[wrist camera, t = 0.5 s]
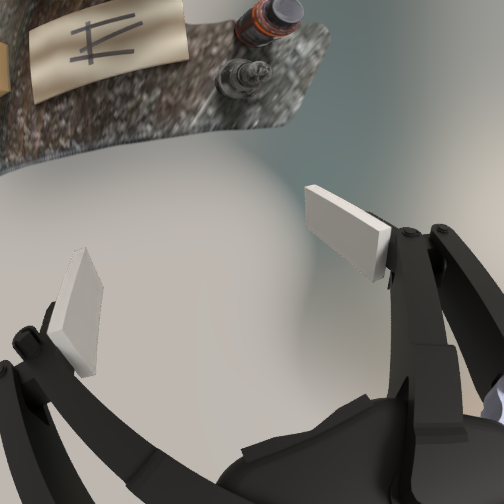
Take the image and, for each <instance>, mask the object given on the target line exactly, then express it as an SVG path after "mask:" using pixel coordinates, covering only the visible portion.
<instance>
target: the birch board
mask: <svg viewBox="0 0 504 504" xmlns="http://www.w3.org/2000/svg"><path fill="white" fill-rule="evenodd" d="M29 48H30V67H31V79H32V88H33V97H34V104H39V103H42V102H44V101H46V100H48V99H51V98H53V97H56V96H58V95H61V94H63V93H66V92H68V91H71V90H74V89H76V88H79V87H82V86H85V85H88V84H91V83H94V82H97V81H100V80H103V79H107V78H110V77H114V76H117V75H121V74H125V73H128V72H132V71H136V70H141V69H145V68H150V67H154V66H159V65H164V64H170V63H175V62H182V61H188V60H189V54H188V46H187V38H186V29H185V20H184V11H183V2H182V0H112V1H109V2H105V3H101V4H98V5H95V6H91V7H88V8H85V9H82V10H79V11H76V12H74V13H71V14H68V15H65V16H63V17H60V18H58V19H55V20H53V21H51V22H48V23H46V24H44V25H41V26H39V27H37V28H35V29H33V30H31V31H29Z"/></svg>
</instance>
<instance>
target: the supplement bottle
mask: <svg viewBox="0 0 504 504" xmlns="http://www.w3.org/2000/svg"><path fill="white" fill-rule="evenodd" d="M303 16H304V9H303V7H302V5H301V3H300V2H299V1H298V0H261V1H259V2H258V3H257V4H255V5H254V6H253V7H252V8H251V9H249V10H248V11H247V12H246V13H245V14H244V15H243V16H242V17H240V19H239V20H238V21H237V23H236V26H235V31H236V35H237V37H238V38H239V40H240V41H241V42H243V43H244V44H246V45H248V46H251V47H262V46H265V45H267V44H269V43H272V42H273V41H275V40H278V39H280V38H282V37H284V36H286V35H288V34H290V33H292V32H294V31H295V30H296V29H297V27H298V26H299V23H300V20H301V19H302V18H303Z"/></svg>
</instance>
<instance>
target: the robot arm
mask: <svg viewBox="0 0 504 504" xmlns="http://www.w3.org/2000/svg"><path fill="white" fill-rule="evenodd" d="M304 188H305V206H306V207H305V208H306V227H307V228H308V229H309V230H311V231H312V232H313V233H314V234H315V235H317V236H318V237H319V238H320V239H322V240H323V241H324V242H325V243H326V244H328V245H329V246H330V247H331V248H332V249H334V250H335V251H336V252H337V253H338V254H340V255H341V256H342V257H343V258H344V259H346V260H347V261H348V262H349V263H350V264H352V265H353V266H354V267H355V268H356V269H357V270H359V271H360V272H361V273H362V274H363V275H364V276H366V277H367V278H368V279H369V280H370V281H371V282H375V281H377V280H379V279H382V278H383V277H384V275H385V269H386V267H387V268H388V269H389V270H391V273H390V278H389V284H388V289H390V293H391V359H390V378H389V389H388V394H387V398H378V399H373V400H370V399H369V398H368V396H367V395H366V394H364V395H362V396H360V397H359V398H357V399H355V400H353V401H351V402H350V403H348V404H346V405H344V406H342V407H340V408H339V409H337V410H336V411H335V412H334V413H333V414H331V415H330V416H329V417H328V418H326V419H325V420H324V421H323V422H322V423H320V424H319V425H318V426H317V427H316V428H314V429H313V430H311V431H307V432H302V433H297V434H291V435H285V436H279V437H273V438H271V439H268V440H265V441H263V442H260V443H257V444H254V445H252V446H249V447H246V448H242V449H241V451H242V454H243V457H241V458H239V459H238V460H236V461H235V462H234V463H233V464H231V465H230V466H229V467H228V468H227V469H226V470H225V471H224V472H223V474H222V475H221V476H220V478H219V479H218V481H217V483H216V484H214V483H213V482H211V481H209V480H207V479H205V478H204V477H202V476H200V475H199V474H197V473H195V472H194V471H192V470H190V469H189V468H187V467H186V466H184V465H182V464H181V463H179V462H178V461H176V460H175V459H173V458H172V457H170V456H169V455H167V454H166V453H164V452H163V451H161V450H160V449H158V448H156V447H155V446H153V445H152V444H150V443H149V442H148V441H146V440H145V439H144V438H143V437H141V436H140V435H138V434H137V433H136V432H135V431H134V430H132V429H131V428H130V427H129V426H128V425H126V424H125V423H124V422H123V421H122V420H120V419H119V418H118V417H117V416H116V415H115V414H113V413H112V412H111V411H110V410H109V409H108V408H107V407H106V406H104V405H103V404H102V403H101V402H100V401H99V400H98V399H97V398H96V397H95V396H94V395H93V394H92V393H91V392H90V391H89V390H88V389H87V388H86V387H85V386H84V385H83V384H82V383H81V382H80V381H79V380H78V379H77V378H76V377H75V376H74V370H75V371H76V372H77V374H78V375H79V376H80V377H81V378H84V377H89V376H94V375H96V356H97V341H98V330H99V319H100V310H101V302H102V294H103V285H102V283H101V281H100V278H99V277H98V274H97V272H96V270H95V267H94V265H93V263H92V261H91V258H90V256H89V254H88V252H87V249H86V247H85V248H82V249H79V250H77V251H74V253H73V256H72V258H71V261H70V263H69V266H68V269H67V272H66V274H65V277H64V280H63V282H62V285H61V288H60V291H59V294H58V297H57V301H55V302H52V303H51V304H50V306H49V307H48V309H47V310H46V314H45V316H44V318H45V319H43V323H42V324H43V325H42V326H41V329H40V333H38V331H37V330H36V328H35V327H33V326H26V327H24V328H22V329H21V330H20V331H19V332H18V333H17V334H16V335H15V337H14V339H13V342H12V345H13V348H14V349H15V350H16V352H17V353H18V354H19V355H20V356H21V358H22V359H23V360H24V361H23V362H21V363H20V364H18V365H16V366H13V365H12V364H11V362H10V361H8V360H3V361H1V362H0V434H1V439H2V443H3V447H4V450H5V455H6V458H7V462H8V465H9V468H10V471H11V474H12V477H13V480H14V483H15V486H16V489H17V491H18V494H19V497H20V499H21V501H22V504H95V502H94V501H93V500H92V498H91V496H90V494H89V493H88V491H87V489H86V488H85V486H84V484H83V483H82V481H81V479H80V477H79V476H78V474H77V472H76V470H75V468H74V466H73V464H72V462H71V460H70V458H69V456H68V454H67V452H66V450H65V448H64V445H63V443H62V441H61V439H60V436H59V434H58V432H57V429H56V427H55V424H54V422H53V420H52V417H51V414H50V412H49V409H48V406H47V403H49V402H52V404H53V405H54V406H55V407H56V409H57V410H58V412H59V413H60V414H61V415H62V417H63V418H64V419H65V420H66V422H67V423H68V424H69V425H70V426H71V428H72V429H73V430H74V431H75V432H76V434H77V435H78V436H79V437H80V438H81V439H82V440H83V441H84V442H85V444H86V445H87V446H88V447H89V448H90V449H91V450H92V451H93V452H94V453H95V454H96V455H97V456H98V457H99V458H100V459H101V460H102V461H103V462H104V463H105V464H106V465H107V466H108V467H109V468H110V469H111V470H112V471H113V472H114V473H115V474H116V475H117V476H119V477H120V478H121V479H122V480H123V481H124V482H125V483H126V487H127V488H128V489H129V490H130V491H131V492H132V493H133V494H134V495H135V496H137V497H138V498H139V499H140V500H141V501H143V502H144V503H145V504H504V294H503V293H502V291H501V290H500V288H499V287H498V285H497V284H496V283H495V281H494V280H493V278H492V277H491V276H490V274H489V273H488V272H487V271H486V269H485V268H484V267H483V265H482V264H481V263H480V261H479V260H478V259H477V258H476V256H475V255H474V254H473V253H472V252H471V250H470V249H469V248H468V247H467V245H466V244H465V243H464V242H463V241H462V240H461V239H460V237H459V236H458V235H457V234H456V233H455V231H454V230H453V229H451V228H450V227H448V226H447V225H444V224H434V225H432V227H431V232H430V234H424V235H422V234H421V232H419V231H418V230H416V229H414V228H409V227H403V228H399V229H398V228H396V227H394V226H393V225H391V224H390V223H388V222H386V221H385V220H384V221H383V219H381V218H378V216H376V215H374V214H373V213H370V212H367V211H364V210H361V209H359V208H358V207H356V206H354V205H352V204H350V203H349V202H347V201H345V200H343V199H341V198H340V197H338V196H336V195H334V194H332V193H330V192H329V191H326V190H325V189H323V188H321V187H319V186H317V185H311V186H306V187H304ZM442 311H443V313H444V315H445V317H446V319H447V321H448V323H449V325H450V327H451V330H452V332H453V334H454V336H455V339H456V341H457V343H458V345H459V348H460V350H461V353H462V355H463V357H464V360H465V363H466V365H467V368H468V370H469V373H470V376H471V378H472V381H473V383H474V386H475V388H476V391H477V392H478V394H479V396H480V398H481V400H482V402H483V403H484V409H483V411H482V412H481V418H480V417H475V416H470V415H465V414H463V406H462V391H461V380H460V372H459V364H458V356H457V351H456V347H455V346H454V345H448V344H447V338H446V331H445V326H444V320H443V314H442Z"/></svg>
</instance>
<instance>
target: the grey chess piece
mask: <svg viewBox="0 0 504 504" xmlns="http://www.w3.org/2000/svg"><path fill="white" fill-rule="evenodd" d="M271 75H272V70H271V67H270V66H269V65H268V64H267V63H265V62H262V61H256V62H252V61H250V60H248V59H243V58H236V59H233V60H230V61H228V62H227V63H225V65H224V66H223V67H222V68H221V69H220V70H219V71H218V72H217V74H216V77H215V85H216V88H217V90H218V91H219V92H220V93H221V94H222V95H223V96H226V97H228V98H235V99H246V98H249V97H251V96H253V95H254V94H256V93H257V91H258V90H259V88H260V86H261V84H263V83H266V82H267V81H268V80H269V79H270V78H271Z"/></svg>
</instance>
